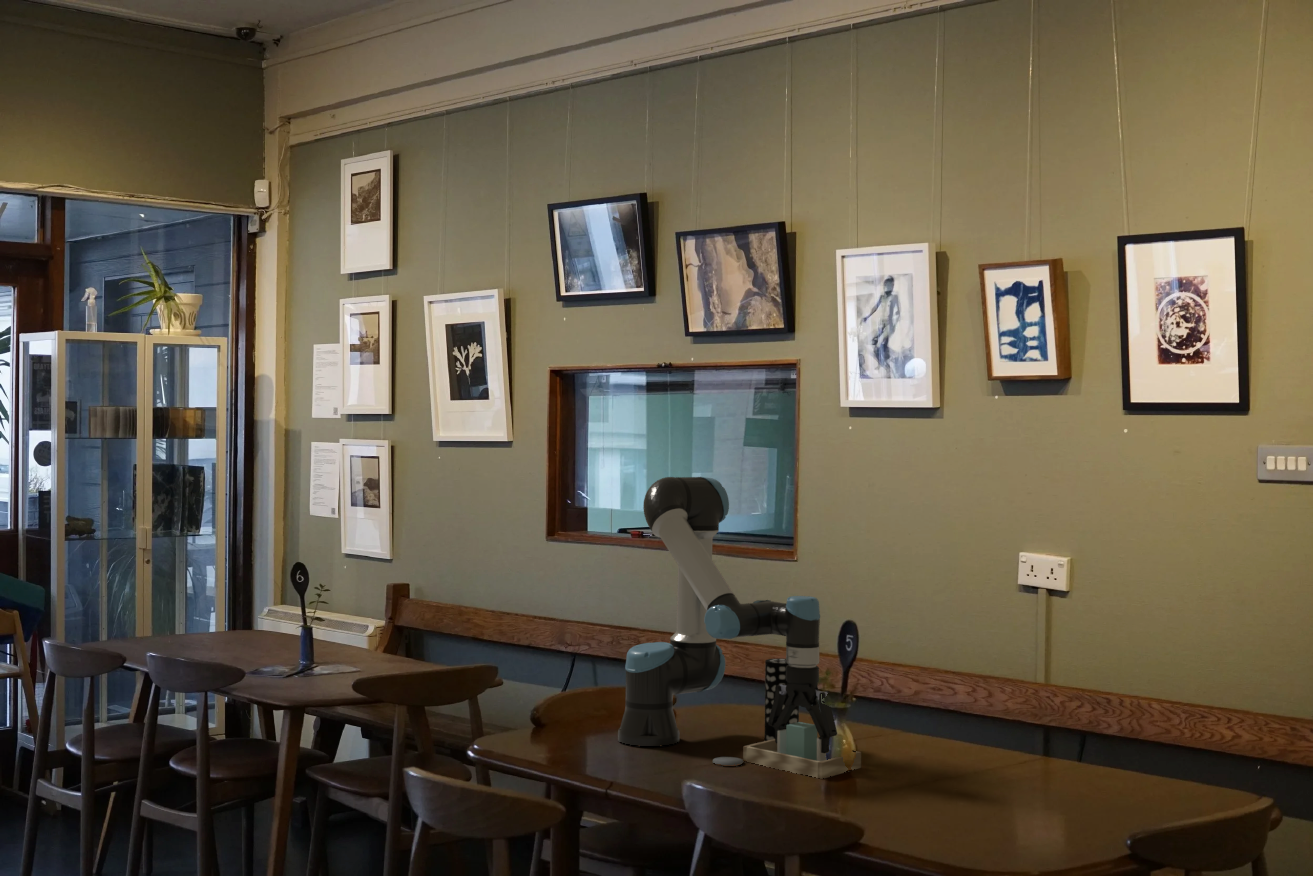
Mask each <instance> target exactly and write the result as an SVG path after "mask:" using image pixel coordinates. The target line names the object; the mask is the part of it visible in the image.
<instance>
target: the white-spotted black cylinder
mask: <svg viewBox="0 0 1313 876" xmlns="http://www.w3.org/2000/svg"><path fill="white" fill-rule="evenodd" d="M764 663H765V665H764V667H765V668H764V670H765V671H764V676H765V677H764V741H768V740H772V739H775V729H774V727H772V726H769V725H768V720H769V717H770V713H771V709H772V706H773V702H774V698H775V686H776V685H782V684H784V685H785V686H786V685H787V681H786V666H787V665H789V664H788V663H787V662H786V658H778V657H777V658H769V659H767V658H766V659H765V661H764ZM788 697H789V696H788V694H787V693H786V696H785V700H784V704H783V708H782V710H783V709H784V707H785V703H786V701H787V699H788ZM781 712H782V711H781ZM797 722H800V706H796V707H795V709H794V710H793V712H792V714H791V716H790V718H789V720H788V722H787V723H786V725H789V724H793V723H797ZM786 725H785V727H786ZM783 729H786V728H783Z"/></svg>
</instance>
